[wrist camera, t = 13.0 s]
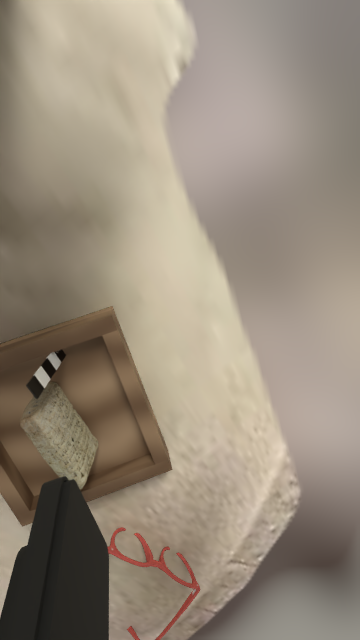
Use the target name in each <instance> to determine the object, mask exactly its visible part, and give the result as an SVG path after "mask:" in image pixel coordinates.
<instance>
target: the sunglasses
mask: <svg viewBox="0 0 360 640" xmlns="http://www.w3.org/2000/svg"><path fill="white" fill-rule="evenodd" d="M125 530H126V529H125V528H119V529H117V530H116V531H115V532H114V534H113V535H112V538H111V543H110V546H109V547H107V548H108V554H112V555H114V556H116V557H118V558H120V559H122V560H124V561H126V562H129V563H131V564H134V565H137V566H141V567H149V566H154V567H158V568H159V569H161V570H162V571H164V572H165V573H166V574H168V575H169V576H170V577H171V578H172V579H174V580H175V581H177V582H178V583H180V584H182V585H184V586H187V587H189V588H193V591H192V592H191V594H190V595H189V597H188V598H187V600H186V601H185V602H184V604H183V605H182V607H181V609H180V610H179V611H178V613H177V614H176V616H175V617H174V618H173V619H172V621H171V622H170V623H169V624H168V626H167V627H166V628H165V629H164V631H163V632H162V633H161V634H160V635H159V636H158V637H157V638H156V639H155V640H160V639H161V638H162V637H163V636H164V635H165V633H166V632H167V631H168V630H169V629H170V628H171V626H172V625H173V624H174V623H175V621H176V620H177V619H178V618H179V617H180V615H181V614H182V613H183V612H184V611H185V610H186V609H187V607H188V606H189V605H190V603H191V602H192V601H193V599H194V598H195V597H196V595H197V594H198V593H199V591H200V587H199V585H198V583H197V581H196V579H195V577H194V574H193V572H192V570H191V568H190V566H189V564H188V563H187V561H186V560H185V558H184V557H183V556H182V555H181V554H180V553H176V554H177V555H178V556H179V557H180V558H181V559H182V561H183V562H184V564H185V565H186V567H187V569H188V571H189V573H190V576H191V579H192V584H191V583H187V582H185V581H183V580H181V579H179V578H178V577H176V576H175V575H174V574H173V573H172V572H171V571H170V570H169V569H168V568H167V566H166V564H165V562H164V558H163V554H164V551H166V550H170V548H169V547H165V548H164V549H163V550H162V553H161V555H160V558H159V561H156V560H153V555H152V552H151V550H150V548H149V546H148V544H147V543H146V541H145V540H144V539H143V537H142V536H141V535H140V534H138V533H135V534H134V535H136V536H137V537H138V538H139V540H140V541H141V543H142V545H143V548H144V551H145V555H146V560H147V563H142V562H138V561H135V560H132V559H130V558H128V557H126V556H124V555H123V554H121V553H120V552H119V551H118V549H117V548H116V546H115V542H114V539H115V535H116V534H117V533H118V532H120V531H125ZM127 630H128V631H129V632H130V634H131V635H132V636H133V637H134V639H135V640H140V639H139V638H138V636H137V635H136V633H135V631H134V630H133V628H132V626H130V627H129V628H128V629H127Z"/></svg>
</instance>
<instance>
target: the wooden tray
mask: <svg viewBox="0 0 360 640" xmlns="http://www.w3.org/2000/svg"><path fill="white" fill-rule="evenodd" d="M61 349H62V350H63V351H64V353H65V354H66V356H65V358H64V360H63V361H62V363H61V364H60V366H59V367H58V369H57V370H56V372H55V373H54V375H53V376H52V378H51V379H50V381H49V382H56V383H57V384H58V385H59V386H60V387H61V389H62V391H63V393H64V394H65V395H66V397H67V398H68V400H69V401H70V403H71V404H72V405H73V409H75V410H76V412H77V413H78V414H79V415H80V417H81V418H82V420H83V421H84V422H85V424H86V425H87V426H88V429H89V430H90V431H91V434H92V435H93V436H94V437H95V438H96V439H97V440H98V449H97V451H96V454H95V458H94V461H93V464H92V466H91V468H90V472H89V474H88V477H87V481H86V483H85V485H84V487H83V488H82V489H80V491H81V493H82V495H83V497H84V499H85V501H86V502H88V501H91V500H93V499H96V498H99V497H101V496H104V495H107V494H109V493H112V492H115V491H117V490H120V489H123V488H125V487H128V486H130V485H133V484H136V483H138V482H141V481H144V480H146V479H149V478H152V477H154V476H157V475H160V474H162V473H165V472H168V471H170V470H172V466H171V462H170V457H169V453H168V449H167V446H166V444H165V441H164V439H163V436H162V434H161V431H160V428H159V426H158V423H157V421H156V418H155V415H154V413H153V410H152V408H151V405H150V402H149V400H148V397H147V395H146V392H145V390H144V387H143V384H142V382H141V379H140V377H139V374H138V371H137V369H136V366H135V364H134V361H133V358H132V356H131V353H130V351H129V348H128V346H127V343H126V340H125V338H124V335H123V333H122V330H121V327H120V325H119V322H118V320H117V317H116V315H115V312H114V309H113V307H112V306H111V307H108V308H105V309H102V310H99V311H96V312H93V313H90V314H87V315H84V316H81V317H78V318H75V319H72V320H69V321H66V322H64V323H61V324H58V325H55V326H52V327H49V328H46V329H43V330H40V331H37V332H34V333H31V334H28V335H25V336H22V337H19V338H16V339H13V340H10V341H7V342H4V343H1V344H0V493H1V494H2V496H3V497H4V499H5V501H6V502H7V504H8V505H9V507H10V508H11V510H12V511H13V513H14V514H15V516H16V517H17V519H18V521H19V522H20V524H21V525H22V526H25V525H27V524H30V523H33V520H34V516H35V511H36V507H37V503H38V499H39V495H40V490H41V487H42V485H43V483H45V482H48V481H51V480H54V479H57V478H60V477H59V476H58V475H57V474H56V473H55V472H54V471H53V469H52V468H51V467H50V466H49V465H48V464H47V462H46V460H44V459H43V458H42V456H41V454H40V453H39V452H38V450H37V448H36V447H35V446H34V445H33V443H32V440H30V439H29V437H28V436H27V435H26V432H25V431H24V429H23V428H22V427H21V426H20V420H21V417H22V415H23V412H24V410H25V408H26V406H27V405H28V403H29V402H30V400H31V399H32V398H33V394H32V393H31V392H30V391H29V389H28V388H27V387H26V385H27V383H28V382H29V381H30V379H31V378H32V377H33V375H34V374H35V373H36V371H37V370H38V369H39V367H40V366H41V365H42V363H43V362H44V361H45V359H46V358H47V357H48V355H49V354H50V353H52V352H55V351H58V350H61ZM49 382H48V383H49Z"/></svg>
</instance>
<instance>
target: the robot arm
mask: <svg viewBox="0 0 360 640" xmlns="http://www.w3.org/2000/svg"><path fill="white" fill-rule="evenodd" d="M0 640H109V554H108V548H107V544H106V542H105V540H104V538H103V536H102V534H101V532H100V529H99V527H98V525H97V523H96V521H95V519H94V517H93V515H92V513H91V511H90V509H89V507H88V505H87V503H86V501H85V499H84V497H83V495H82V493H81V491H80V489H79V487H78V485H77V483H76V481H75V480H74V479H72V480H68V478H67V477H66V476H63V477H60V478H57V479H54V480H51V481H48V482H45V483H43V485H42V487H41V490H40V495H39V499H38V503H37V507H36V511H35V516H34V520H33V524H32V528H31V532H30V536H29V541H28V545H27V546H24V547H22V548H21V549H20V551H19V552H18V554H17V557H16V560H15V564H14V568H13V571H12V575H11V579H10V583H9V587H8V590H7V594H6V598H5V602H4V606H3V610H2V613H1V617H0Z"/></svg>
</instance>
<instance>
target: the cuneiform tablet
mask: <svg viewBox="0 0 360 640" xmlns="http://www.w3.org/2000/svg"><path fill="white" fill-rule="evenodd" d="M65 356H66V354H65V353H64V351H63V350H62V349H61V350H58V351H55V352H52V353H50V354H49V355H48V357H47V358H46V359H45V361H44V362H43V363H42V365H41V366H40V367H39V369H38V370H37V371H36V373H35V374H34V375H33V377H32V378H31V379H30V381H29V382H28V383H27V385H26V387H27V388H28V389H29V391H30V392H31V393H32V394H33V398H32V399H31V400H30V402H29V403H28V405H27V406H26V408H25V410H24V412H23V415H22V417H21V420H20V426H21V427H22V428H23V429H24V431H25V432H26V435H27V436H28V437H29V439H30V440H32V443H33V445H34V446H35V447H36V448H37V450H38V452H39V453H40V454H41V456H42V458H43V459H44V460H46V462H47V464H48V465H49V466H50V467H51V468H52V469H53V471H54V472H55V473H56V474H57V475H58V476H59V477H63V476H66V477H67V478H68V480H72V479H74V480H75V481H76V483H77V485H78V487H79V489H82V488H83V487H84V485H85V483H86V481H87V477H88V474H89V472H90V468H91V466H92V464H93V461H94V458H95V454H96V451H97V449H98V440H97V439H96V438H95V437H94V436H93V435H92V434H91V431H90V430H89V429H88V426H87V425H86V424H85V422H84V421H83V420H82V418H81V417H80V415H79V414H78V413H77V412H76V410H75V409H73V405H72V404H71V403H70V401H69V400H68V398H67V397H66V395H65V394H64V393H63V391H62V389H61V387H60V386H59V385H58V384H57V383H56V382H49V381H50V379H51V378H52V376H53V375H54V373H55V372H56V370H57V369H58V367H59V366H60V364H61V363H62V361H63V360H64V358H65ZM48 382H49V383H48Z"/></svg>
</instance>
